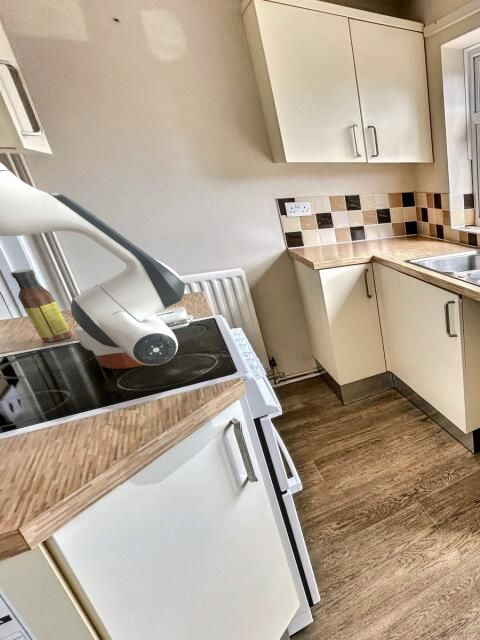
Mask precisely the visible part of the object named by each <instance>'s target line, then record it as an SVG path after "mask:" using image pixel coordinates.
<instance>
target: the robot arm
mask: <svg viewBox="0 0 480 640" xmlns="http://www.w3.org/2000/svg"><path fill="white" fill-rule="evenodd" d="M52 232H53V233H54V232H69V233H70V232H71V233H75V234H76V233H77V234H80V235H83V236H85V237H87V238H89V239H90V240H91V241H93V242H95V243H96V244H98V246H100V247H102V248H103V249H104V250H106V251H108V252H109V253H110V254H111V255H113V256H114V257H116V258H117V259H119V260H120V261H122V262H123V263H124V264H125V265H126V266H125V269H124V270H122V271H121V272H119V273H117V274H115V275H114V276H112V277H110V278H108V279H106V280H104V281H103V282H100V283H99V284H96V285H94V286H93V287H90V288H89V289H87V290H85V291H84V292H81V293H80V294H78V295H77V296H75V297H73V298H72V300H71V303H70V312H71V316H72V318H73V320H74V321H75V322H76V323H77V324H78V326H76V327H74V328H73V331H74V334H75V336H76V338H77V340H78V342H79V343H80V345H81V346H82V348H84V349H85V350H86V351H87V350H88V351H92V353H93V354H94V355H95V356H96V357H97V356H102V355H109V354H117V353H126V354H127V355H128V356H129V357H130V358H132V359H133V360H135V361H136V362H138V363H140V364H143V365H142V366H152V367H153V366H159V365H163V364H166V363H167V362H169V361H170V360H171V359H173V358H174V357H175V356H176V354H177V352H178V349H179V341H178V338H177V336H176V335H175V333H174V331H173V330H176V329H181V328H185V327H187V326H189V325H190V323H191V321H194V320H195V317H194V316H193V315H192V314H188V313H187V309H186V308H185V307H184V306H175V307H171V306H174V305H176V304H178V303H180V302H181V301H182V300H183V298H184V295H185V289H186V283H185V282H184V280H183V279H182V277H181V275H180V274H178V273H177V272H176V270H174V269H173V268H172V267H170V266H168V265H167V264H166V263H163V262H162V261H160V260H158V259H156V258H154V257H153V256H151V255H150V254H148V253H147V252H145V250H142V249H141V248H140V247H139V246H138V245H136V244H135V243H134V242H132V241H131V240H129V239H128V238H127V237H125V236H124V235H123V234H121V232H119V231H118V230H117V229H116V230H115V229H114V228H113V227H112V226H110V225H109V224H108V223H106V222H105V221H104V220H103V219H101V218H100V217H98V216H97V215H95V214H93V213H92V212H91V211H89V210H88V209H87V208H85V207H83V206H82V205H81V204H79V203H78V202H77V201H75V200H73V199H71V198H70V197H68V196H66V195H65V194H63V193H60V192H46V191H43V190H41V189H38V188H36V187H34V186H32V185H30V184H28V183H26V182H24V180H22V179H20V178H19V177H17V176H16V175H15V174H14V173H13V172H12V171H11V170H9V168H7V167H6V166H5V165H4V164H3V163H2V162H1V161H0V237H19V236H20V237H21V236H27V235H28V236H29V235H37V234H44V233H45V234H46V233H52ZM169 307H170V308H169Z"/></svg>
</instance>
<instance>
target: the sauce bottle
mask: <svg viewBox="0 0 480 640" xmlns="http://www.w3.org/2000/svg"><path fill="white" fill-rule="evenodd" d="M10 275H11V277H12V278H14V279H15V281H16V284H17V285H18V288H19V292H18V296H17V297H18V300H19V301H20V303H21V305H22V307H23V310H24V312H25V313H26V315H27V317H28V319H29V321H30V322H31V324H32V325H33V327H34V329H35V331H36V333H37V335H38V336H39V338H40V339H41V340H42V341H43V342H44V343H53V342H60V341H64V340H66V339H69V338H71V336H72V335H73V334H72V331H71V329H70V326H69V324H68V322H67V320H66V319H65V316H64V315H63V313H62V311H61V310H60V307H59V306H58V304H57V302H56V300H55V299H54V297H53V296H52V294H51V292H50V291H49V290H48V289H46V287H45V288H44V287H43V286H42V285H41V284H40V282H39V281H38V279H37V277H36V273H35V271H34V270H33V269H32V268H28V269H27V268H26V269H25V268H24V269H18V270H14V271H11V272H10Z"/></svg>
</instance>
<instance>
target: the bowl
mask: <svg viewBox="0 0 480 640" xmlns="http://www.w3.org/2000/svg"><path fill="white" fill-rule="evenodd" d="M96 357H97V359H98V362H99V364H100V366H101V367H102V368H105V369H110V370H125V369H132V368H137V367H142V366H144V365H143V364H140V363H138V362H136V361H135V360H133V359H132V358H130V357H129V356H128V355H127V354H126V353H117V354H109V355H102V356H96Z"/></svg>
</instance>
